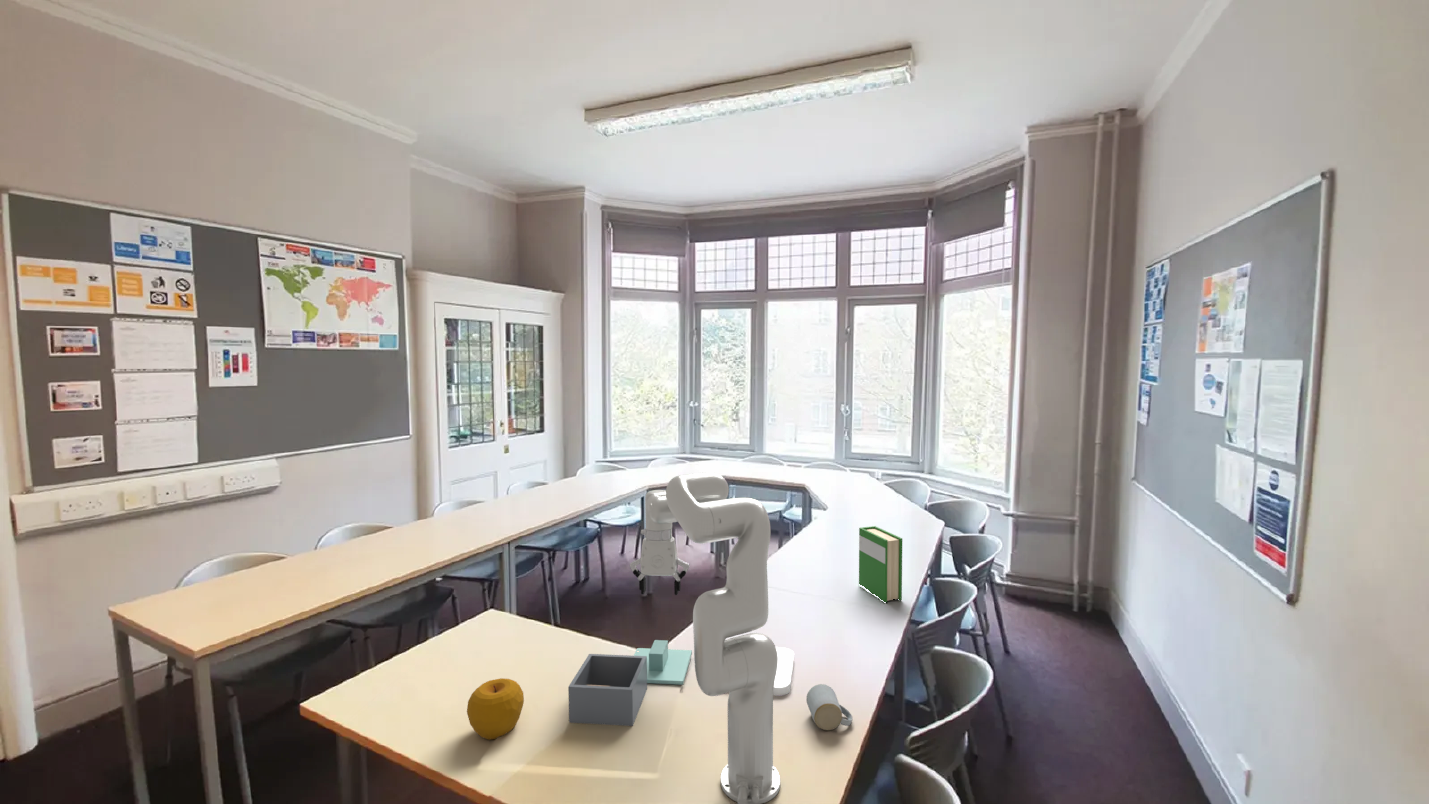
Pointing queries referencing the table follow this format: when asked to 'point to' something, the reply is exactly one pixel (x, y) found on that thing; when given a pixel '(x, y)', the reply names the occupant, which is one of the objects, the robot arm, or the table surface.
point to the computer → (783, 671)
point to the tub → (608, 690)
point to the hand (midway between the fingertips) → (660, 592)
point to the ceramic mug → (826, 708)
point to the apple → (495, 707)
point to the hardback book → (880, 563)
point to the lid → (665, 663)
